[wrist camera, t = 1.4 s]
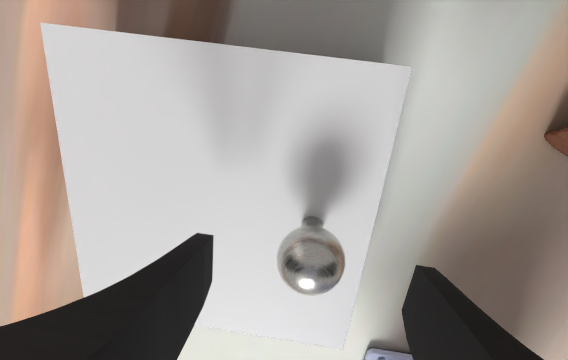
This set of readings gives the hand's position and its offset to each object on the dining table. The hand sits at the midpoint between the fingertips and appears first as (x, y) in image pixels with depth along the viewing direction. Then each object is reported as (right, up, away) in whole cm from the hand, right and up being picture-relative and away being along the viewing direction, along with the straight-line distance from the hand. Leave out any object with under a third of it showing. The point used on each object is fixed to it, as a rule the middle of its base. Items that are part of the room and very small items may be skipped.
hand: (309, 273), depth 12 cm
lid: (-4, +2, +4) cm, 6 cm away
